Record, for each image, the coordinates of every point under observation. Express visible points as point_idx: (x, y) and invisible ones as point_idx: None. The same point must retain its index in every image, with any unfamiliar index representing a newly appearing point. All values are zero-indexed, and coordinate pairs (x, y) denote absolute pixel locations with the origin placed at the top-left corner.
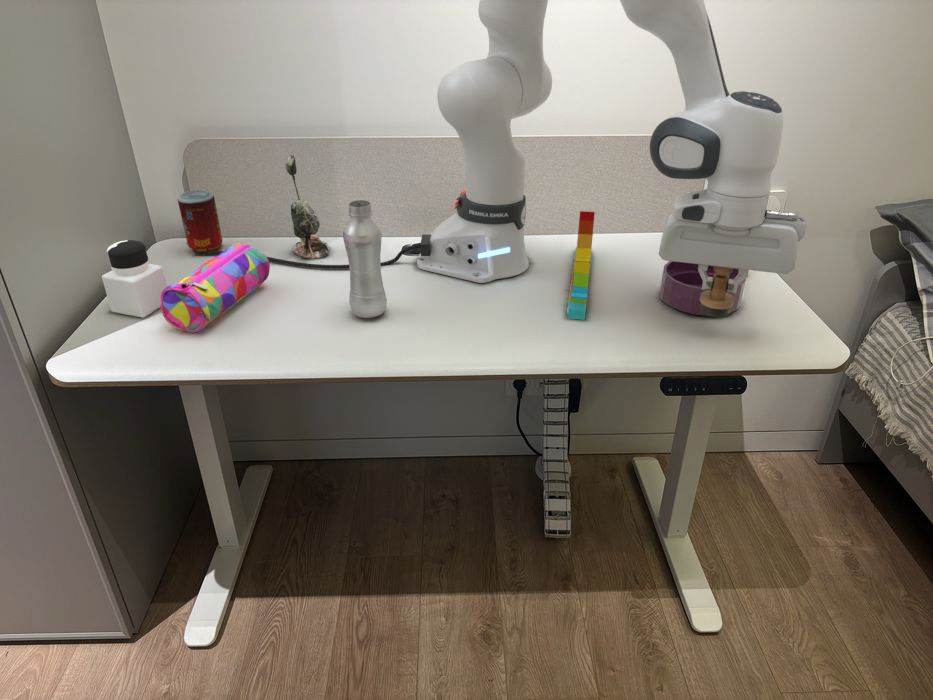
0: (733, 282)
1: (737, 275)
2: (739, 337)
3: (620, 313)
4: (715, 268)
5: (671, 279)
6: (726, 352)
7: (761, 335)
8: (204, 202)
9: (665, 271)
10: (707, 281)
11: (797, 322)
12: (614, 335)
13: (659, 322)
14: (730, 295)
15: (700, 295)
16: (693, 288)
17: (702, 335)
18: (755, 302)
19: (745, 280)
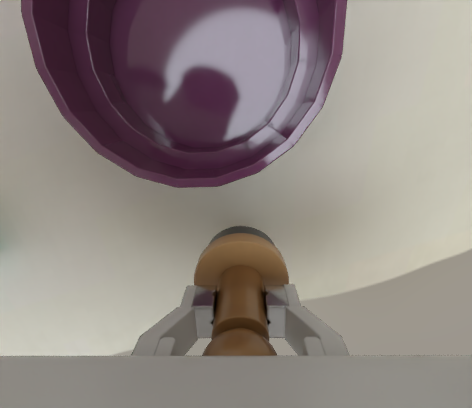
0: (284, 328)
1: (300, 324)
2: (300, 225)
3: (47, 201)
4: None
5: (89, 143)
6: None
7: (348, 203)
8: None
9: (47, 80)
10: (198, 335)
11: (451, 106)
12: (73, 288)
13: (135, 215)
14: (278, 266)
15: (194, 283)
16: (169, 184)
17: None
18: (361, 6)
19: (340, 58)
